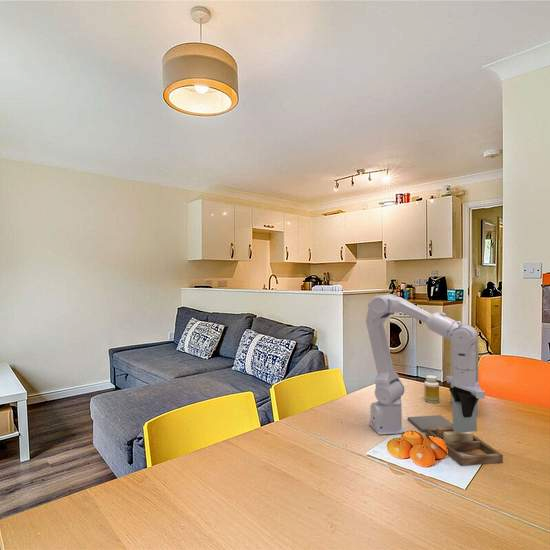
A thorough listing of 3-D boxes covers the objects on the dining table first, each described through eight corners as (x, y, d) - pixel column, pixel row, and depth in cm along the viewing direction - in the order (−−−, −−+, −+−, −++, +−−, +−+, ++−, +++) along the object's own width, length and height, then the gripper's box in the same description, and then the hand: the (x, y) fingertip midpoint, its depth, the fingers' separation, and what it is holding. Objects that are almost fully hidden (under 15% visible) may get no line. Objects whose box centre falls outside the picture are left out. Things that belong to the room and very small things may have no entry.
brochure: (478, 417, 127) (478, 332, 127) (461, 416, 129) (461, 331, 128) (466, 403, 141) (465, 326, 141) (450, 402, 142) (450, 325, 142)
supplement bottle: (441, 403, 141) (441, 378, 141) (427, 403, 141) (427, 378, 141) (435, 398, 147) (435, 374, 147) (422, 398, 147) (422, 374, 147)
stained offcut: (440, 443, 110) (440, 429, 109) (436, 439, 112) (436, 427, 111) (465, 441, 110) (465, 428, 110) (461, 438, 112) (461, 425, 112)
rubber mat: (422, 432, 116) (422, 429, 116) (407, 419, 126) (407, 417, 126) (457, 430, 118) (457, 427, 118) (440, 417, 128) (440, 415, 128)
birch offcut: (447, 448, 106) (447, 435, 106) (443, 445, 108) (443, 432, 108) (472, 446, 107) (472, 433, 107) (468, 443, 109) (468, 430, 109)
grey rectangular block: (457, 432, 103) (456, 404, 103) (452, 429, 105) (452, 402, 105) (476, 431, 104) (476, 403, 103) (472, 428, 106) (471, 400, 105)
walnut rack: (461, 465, 96) (461, 458, 96) (425, 435, 114) (425, 429, 114) (502, 462, 98) (502, 455, 98) (461, 433, 116) (461, 426, 116)
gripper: (495, 374, 97) (495, 424, 97) (461, 361, 112) (462, 405, 112) (470, 375, 96) (470, 426, 97) (440, 361, 111) (440, 406, 111)
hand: (464, 415), depth 104 cm, fingers closed on grey rectangular block, 2 cm apart
